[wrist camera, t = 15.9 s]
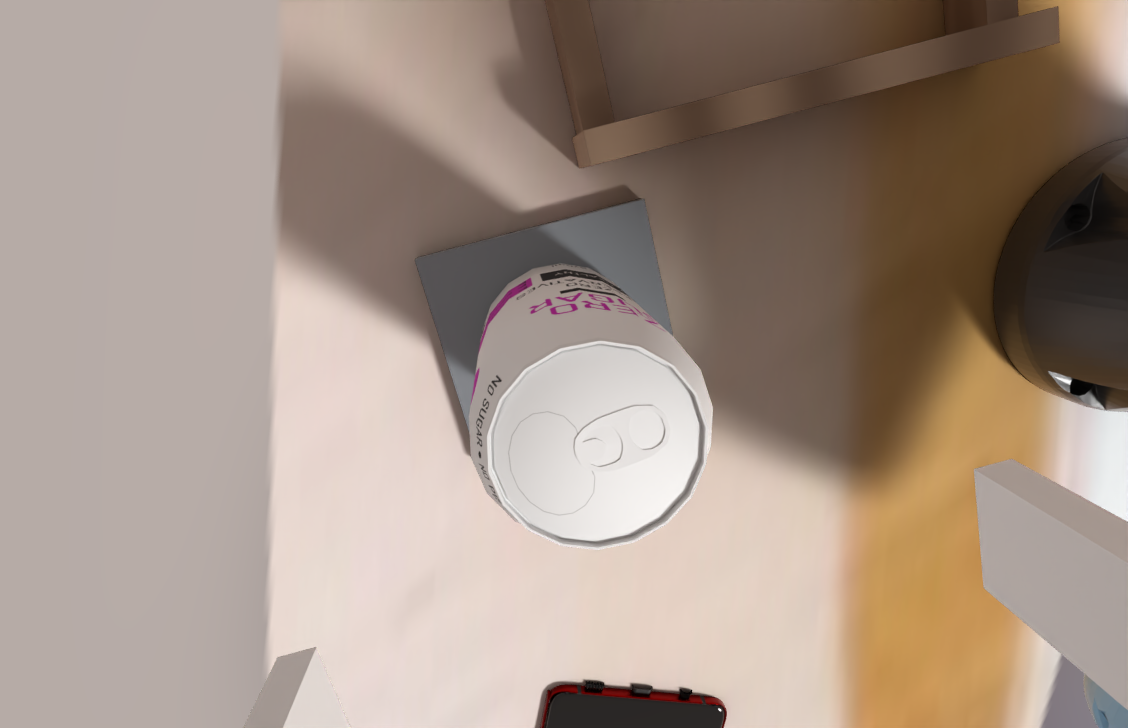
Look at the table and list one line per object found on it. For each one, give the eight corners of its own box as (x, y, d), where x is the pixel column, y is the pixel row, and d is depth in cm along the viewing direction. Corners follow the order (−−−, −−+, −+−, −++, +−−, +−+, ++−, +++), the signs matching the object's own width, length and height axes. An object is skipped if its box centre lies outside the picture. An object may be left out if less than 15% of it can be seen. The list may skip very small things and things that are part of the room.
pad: (640, 198, 34) (644, 199, 33) (684, 408, 38) (689, 414, 37) (417, 257, 34) (414, 259, 33) (481, 462, 37) (481, 470, 36)
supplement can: (516, 434, 36) (524, 601, 22) (458, 295, 34) (423, 378, 19) (655, 381, 36) (756, 514, 22) (606, 238, 34) (682, 279, 19)
